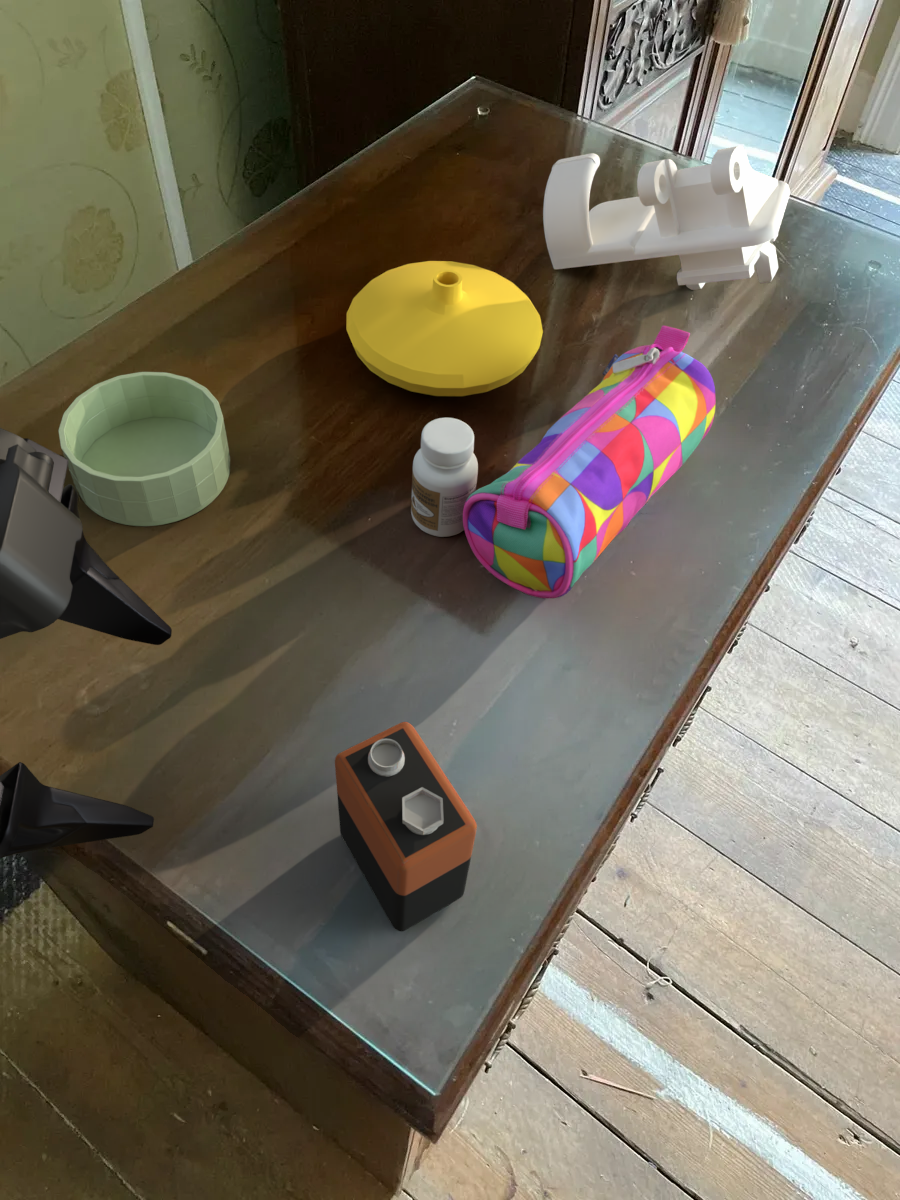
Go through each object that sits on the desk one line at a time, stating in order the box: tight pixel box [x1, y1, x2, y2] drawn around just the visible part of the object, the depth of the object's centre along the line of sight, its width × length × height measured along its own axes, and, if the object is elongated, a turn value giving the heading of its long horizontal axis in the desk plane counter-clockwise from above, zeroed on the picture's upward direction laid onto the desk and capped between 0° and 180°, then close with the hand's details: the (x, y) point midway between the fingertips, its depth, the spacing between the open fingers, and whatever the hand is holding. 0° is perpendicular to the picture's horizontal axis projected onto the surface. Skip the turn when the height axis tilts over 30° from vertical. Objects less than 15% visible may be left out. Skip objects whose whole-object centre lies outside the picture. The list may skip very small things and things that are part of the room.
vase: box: [346, 260, 544, 397], centre depth 76 cm, size 16×16×7 cm
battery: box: [334, 721, 478, 932], centre depth 48 cm, size 4×7×10 cm, turn 31°
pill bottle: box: [410, 417, 479, 538], centre depth 65 cm, size 4×4×8 cm
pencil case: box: [463, 325, 717, 599], centre depth 66 cm, size 22×9×9 cm, turn 145°
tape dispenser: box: [542, 145, 791, 291], centre depth 83 cm, size 20×11×13 cm, turn 61°
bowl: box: [57, 371, 231, 527], centre depth 67 cm, size 11×11×4 cm
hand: (158, 725), depth 41 cm, fingers open, 9 cm apart
